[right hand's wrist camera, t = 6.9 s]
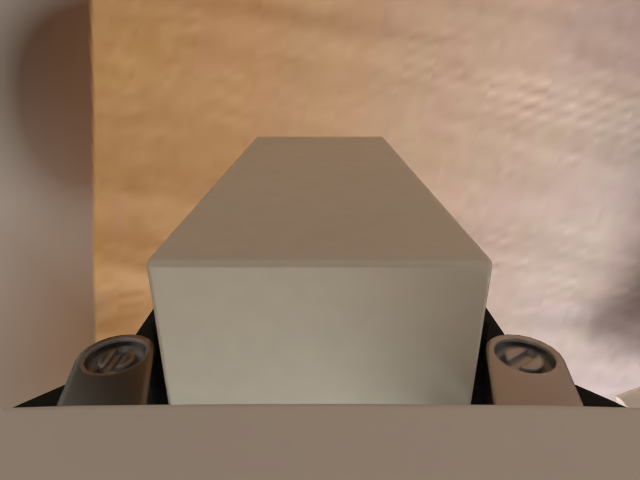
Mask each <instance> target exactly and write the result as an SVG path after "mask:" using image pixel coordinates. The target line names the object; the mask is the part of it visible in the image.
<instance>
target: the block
mask: <svg viewBox="0 0 640 480" xmlns="http://www.w3.org/2000/svg"><path fill="white" fill-rule="evenodd" d="M147 270H148V276H149V283H150V289H151V295H152V302H153V308H154V315H155V321H156V327H157V334H158V340H159V347H160V353H161V359H162V366H163V372H164V378H165V385H166V391H167V398H168V404H169V405H188V404H442V405H471V399H472V392H473V386H474V379H475V373H476V367H477V360H478V354H479V347H480V341H481V334H482V328H483V322H484V315H485V309H486V302H487V296H488V289H489V283H490V277H491V270H492V262H491V260H490V259H489V258H488V256H487V255H486V254H485V253H484V252H483V251H482V250H481V248H480V247H479V246H478V245H477V244H476V243H475V242H474V240H473V239H472V238H471V237H470V236H469V235H468V234H467V233H466V231H465V230H464V229H463V228H462V227H461V226H460V225H459V223H458V222H457V221H456V220H455V219H454V218H453V217H452V215H451V214H450V213H449V212H448V211H447V210H446V209H445V207H444V206H443V205H442V204H441V203H440V202H439V201H438V200H437V198H436V197H435V196H434V195H433V194H432V193H431V192H430V190H429V189H428V188H427V187H426V186H425V185H424V184H423V182H422V181H421V180H420V179H419V178H418V177H417V176H416V175H415V173H414V172H413V171H412V170H411V169H410V168H409V167H408V165H407V164H406V163H405V162H404V161H403V160H402V159H401V157H400V156H399V155H398V154H397V153H396V152H395V151H394V149H393V148H392V147H391V146H390V145H389V144H388V143H387V142H386V140H385V139H384V138H383V137H257V138H256V139H255V140H254V141H253V142H252V144H251V145H250V146H249V147H248V148H247V149H246V150H245V151H244V153H243V154H242V155H241V156H240V157H239V158H238V159H237V160H236V162H235V163H234V164H233V165H232V166H231V167H230V168H229V170H228V171H227V172H226V173H225V174H224V175H223V176H222V177H221V179H220V180H219V181H218V182H217V183H216V184H215V185H214V186H213V188H212V189H211V190H210V191H209V192H208V193H207V194H206V195H205V197H204V198H203V199H202V200H201V201H200V202H199V203H198V205H197V206H196V207H195V208H194V209H193V210H192V211H191V212H190V214H189V215H188V216H187V217H186V218H185V219H184V220H183V221H182V223H181V224H180V225H179V226H178V227H177V228H176V229H175V230H174V232H173V233H172V234H171V235H170V236H169V237H168V238H167V240H166V241H165V242H164V243H163V244H162V245H161V246H160V247H159V249H158V250H157V251H156V252H155V253H154V254H153V255H152V256H151V258H150V259H149V260H148V262H147Z"/></svg>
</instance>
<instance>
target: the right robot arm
mask: <svg viewBox="0 0 640 480" xmlns="http://www.w3.org/2000/svg"><path fill="white" fill-rule="evenodd" d="M615 398H616V401H617V403H616V402H614V401H611V400H609V399H607V398H604V397H602V396H600V395H598V394H595V393H593V392H591V391H588V390H586V389H584V388H581V387H579V386H577V385H575V384H574V382H573V380H572V377H571V375H570V372H569V370H568V368H567V365H566V363H565V361H564V359H563V358H562V356H561V355H560V353H558V352H557V351H556V350H555V349H554V348H552V347H551V346H549V345H547V344H545V343H543V342H542V341H539V340H536V339H533V338H530V337H526V336H521V335H508V334H507V335H504V333H503V332H502V330H501V329H500V327H499V326H498V324H497V323H496V321H495V320H494V319H493V317H492V316H491V314H490V313H489V311H488V310H487V308H486V309H485V315H484V322H483V328H482V334H481V341H480V347H479V354H478V360H477V367H476V373H475V379H474V386H473V392H472V399H471V405H442V404H188V405H169V404H168V398H167V391H166V385H165V378H164V372H163V366H162V359H161V353H160V347H159V340H158V334H157V327H156V321H155V315H154V309H153V310H152V312H151V313H150V315H149V316H148V318H147V319H146V321H145V322H144V323H143V325H142V326H141V328H140V329H139V331H138V332H137V334H136V335H133V334H132V335H119V336H114V337H109V338H107V339H104V340H101V341H98V342H97V343H95V344H93V345H91V346H89V347H88V348H86V349H85V350H84V351H83V352H82V353H80V355H79V356H78V358H77V359H76V361H75V363H74V365H73V368H72V370H71V372H70V375H69V377H68V380H67V382H66V384H65V385H63V386H61V387H59V388H57V389H54V390H52V391H50V392H47V393H45V394H43V395H41V396H38V397H36V398H34V399H31V400H29V401H27V402H24V403H22V404H20V405H18V406H15V407H13V408H0V480H640V387H638V388H635V389H633V390H630V391H627V392H625V393H622V394H620V395H617V396H616V397H615Z"/></svg>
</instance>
